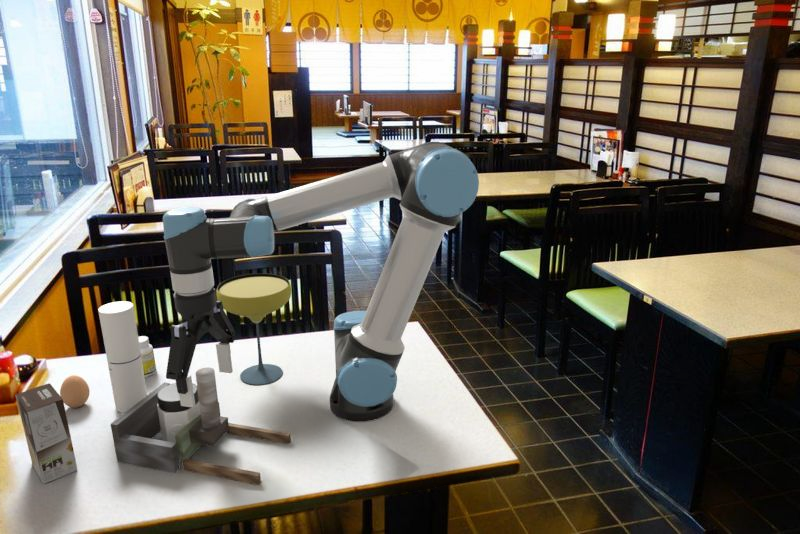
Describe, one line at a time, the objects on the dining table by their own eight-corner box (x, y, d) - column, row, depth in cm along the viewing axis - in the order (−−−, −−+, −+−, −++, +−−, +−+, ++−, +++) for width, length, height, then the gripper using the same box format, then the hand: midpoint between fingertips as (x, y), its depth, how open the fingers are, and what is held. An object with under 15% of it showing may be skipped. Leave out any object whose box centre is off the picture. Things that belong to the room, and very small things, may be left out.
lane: (293, 437, 128) (290, 401, 125) (255, 488, 112) (251, 448, 109) (169, 417, 135) (164, 382, 133) (117, 462, 120) (110, 424, 117)
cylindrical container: (133, 414, 136) (116, 315, 129) (108, 409, 139) (90, 311, 131) (154, 399, 143) (140, 303, 135) (131, 394, 145) (115, 299, 137)
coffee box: (79, 469, 118) (64, 399, 113) (43, 485, 113) (26, 412, 108) (64, 449, 124) (50, 382, 119) (30, 463, 120) (13, 393, 115)
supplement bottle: (134, 370, 157) (128, 336, 154) (156, 366, 159) (151, 333, 156) (134, 379, 152) (128, 345, 149) (157, 375, 154) (151, 341, 151)
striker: (236, 435, 128) (228, 360, 122) (208, 466, 118) (198, 386, 112) (208, 430, 130) (199, 356, 124) (178, 461, 119) (167, 382, 114)
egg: (57, 409, 139) (51, 379, 136) (80, 397, 144) (74, 368, 141) (75, 415, 136) (68, 385, 134) (97, 402, 141) (92, 373, 139)
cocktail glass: (262, 399, 142) (253, 303, 135) (210, 380, 151) (199, 289, 144) (310, 369, 157) (305, 280, 149) (260, 353, 166) (253, 268, 158)
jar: (158, 454, 122) (150, 403, 119) (166, 431, 130) (159, 383, 126) (203, 450, 124) (196, 399, 120) (208, 427, 131) (202, 380, 128)
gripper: (212, 267, 124) (224, 357, 131) (132, 313, 102) (152, 419, 108) (244, 269, 123) (255, 361, 129) (170, 316, 100) (187, 424, 107)
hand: (208, 388), depth 119 cm, fingers open, 13 cm apart
